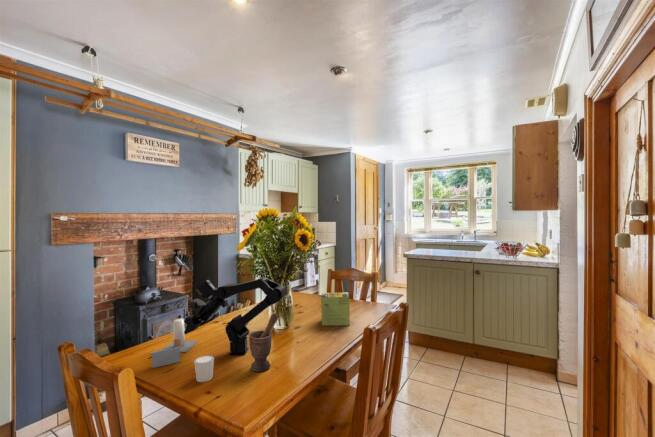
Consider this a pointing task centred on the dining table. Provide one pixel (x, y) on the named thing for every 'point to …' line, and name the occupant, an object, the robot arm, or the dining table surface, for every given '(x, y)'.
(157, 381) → the dining table surface
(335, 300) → the protein box
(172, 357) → the screen
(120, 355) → the dining table surface
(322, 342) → the dining table surface
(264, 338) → the mortar and pestle
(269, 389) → the dining table surface
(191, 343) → the slate mat
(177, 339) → the white rounded cylinder
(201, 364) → the shot glass
